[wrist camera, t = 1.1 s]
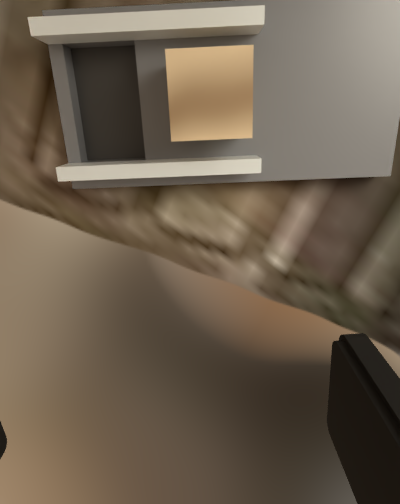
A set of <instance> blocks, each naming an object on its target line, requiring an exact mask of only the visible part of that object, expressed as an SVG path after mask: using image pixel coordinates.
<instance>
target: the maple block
mask: <svg viewBox="0 0 400 504" xmlns="http://www.w3.org/2000/svg"><path fill="white" fill-rule="evenodd" d="M253 50H254V45H236V46H216V47H195V48H174V49H165V56H166V71H167V86H168V101H169V115H170V130H171V142H174V141H197V140H220V139H243V138H252V134H253Z"/></svg>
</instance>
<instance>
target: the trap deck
mask: <svg viewBox="0 0 400 504" xmlns="http://www.w3.org/2000/svg"><path fill="white" fill-rule="evenodd" d="M42 13H43V16H40V17H28V22H29V28H30V33H31V36H32V37H34V38H36V39H38V40H40V41H42V42H44V43H46V44H48V48H49V54H50V60H51V66H52V71H53V77H54V83H55V89H56V95H57V100H58V106H59V112H60V118H61V123H62V129H63V135H64V141H65V147H66V152H67V158H68V164H64V165H61V166H58V167H56V173H57V178H58V182H59V181H72V187H73V189H87V188H112V187H136V186H160V185H185V184H209V183H233V182H258V181H282V180H306V179H331V178H355V177H379V176H391V170H392V164H393V157H394V150H395V144H396V137H397V131H398V124H399V118H400V0H233V1H214V2H194V3H175V4H155V5H135V6H116V7H96V8H76V9H57V10H42ZM236 45H254V50H253V134H252V138H243V139H220V140H197V141H174V142H171V130H170V115H169V101H168V86H167V71H166V56H165V49H174V48H195V47H216V46H236Z"/></svg>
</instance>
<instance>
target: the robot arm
mask: <svg viewBox="0 0 400 504" xmlns="http://www.w3.org/2000/svg"><path fill="white" fill-rule="evenodd" d="M327 424H328V430H329V434H330V436H331V439H332V441H333V444H334V446H335V449H336V451H337V454H338V456H339V459H340V461H341V464H342V466H343V469H344V471H345V474H346V476H347V479H348V481H349V484H350V486H351V489H352V491H353V493H354V496H355V498H356V501H357V503H358V504H400V379H399V377H398V376H397V375H396V373H395V372H394V371H393V369H392V368H391V367H390V366H389V364H388V363H387V361H386V360H385V359H384V357H383V356H382V355H381V353H380V352H379V351H378V349H377V348H376V347H375V346H374V344H373V343H372V342H371V340H370V339H369V338H368V336H367V335H366V334H363V333H361V334H346V335H341V336H340V338H339V341H334V342H333V344H332V355H331V370H330V385H329V400H328V414H327ZM6 444H7V438H6V435H5V432H4V430H3V427H2V425H1V422H0V459H1V457H2V455H3V453H4V451H5V449H6Z"/></svg>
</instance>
